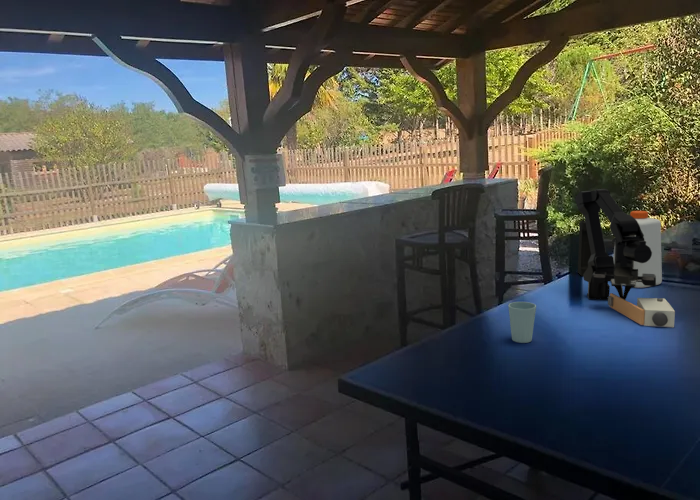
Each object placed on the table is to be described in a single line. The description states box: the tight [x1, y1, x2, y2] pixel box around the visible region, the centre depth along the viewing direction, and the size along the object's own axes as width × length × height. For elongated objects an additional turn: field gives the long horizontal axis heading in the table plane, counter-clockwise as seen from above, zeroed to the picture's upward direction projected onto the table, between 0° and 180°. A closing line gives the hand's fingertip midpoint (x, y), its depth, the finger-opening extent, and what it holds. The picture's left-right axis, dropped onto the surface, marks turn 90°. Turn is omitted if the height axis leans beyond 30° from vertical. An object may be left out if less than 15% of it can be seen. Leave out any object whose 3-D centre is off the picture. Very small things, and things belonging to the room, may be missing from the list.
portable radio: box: [577, 215, 591, 277], centre depth 236 cm, size 8×6×25 cm
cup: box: [508, 301, 537, 344], centre depth 165 cm, size 8×8×10 cm
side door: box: [607, 292, 645, 326], centre depth 182 cm, size 2×20×5 cm, turn 2°
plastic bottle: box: [612, 210, 663, 289], centre depth 220 cm, size 15×15×28 cm
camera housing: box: [636, 297, 676, 328], centre depth 177 cm, size 8×15×6 cm, turn 162°
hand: (622, 303), depth 189 cm, fingers closed
